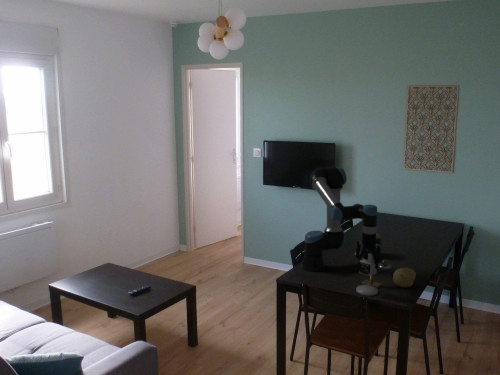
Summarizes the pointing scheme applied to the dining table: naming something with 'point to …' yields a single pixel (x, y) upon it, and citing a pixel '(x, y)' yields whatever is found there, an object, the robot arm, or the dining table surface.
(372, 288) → the dish
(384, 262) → the balance
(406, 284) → the olive brown dome
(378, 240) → the canister
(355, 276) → the dining table surface
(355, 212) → the robot arm
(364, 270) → the grey piece
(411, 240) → the dining table surface
